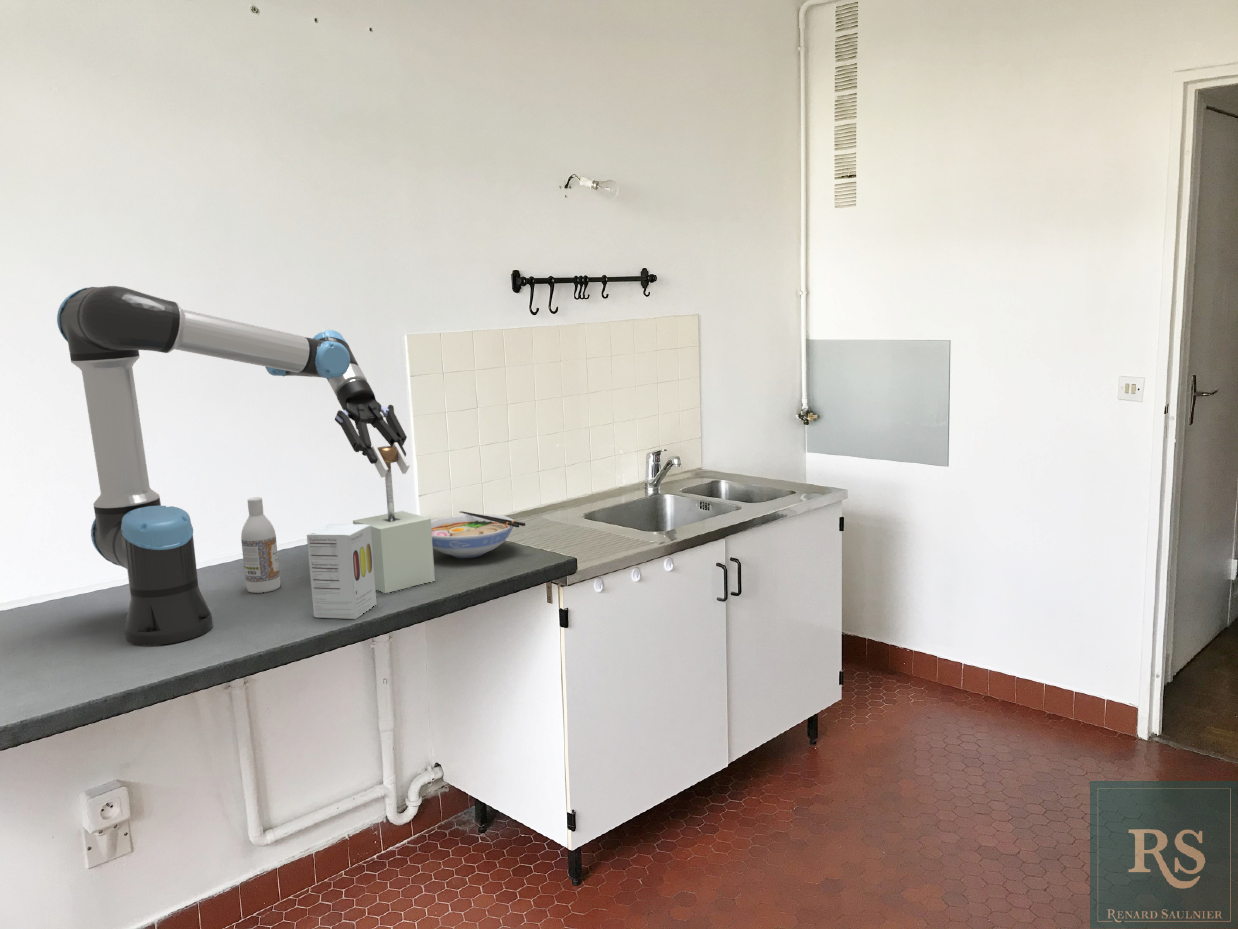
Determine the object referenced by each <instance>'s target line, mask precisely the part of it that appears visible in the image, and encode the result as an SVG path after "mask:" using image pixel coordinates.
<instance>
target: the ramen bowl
mask: <svg viewBox="0 0 1238 929" xmlns="http://www.w3.org/2000/svg"><path fill="white" fill-rule="evenodd" d="M459 513H460V514H457V515H453V516H445V517H444V516H443V517H440V518H436V519H431V532H432V546H433V550H436V551H438V552H440V553H442V554H444V555H449V556H451V557H452V556H453V557H454V558H457V559H472V558H473V559H474V558H478V557H481V556H483V555H484V554H486V553H489V552H490V551H493V550H494V549H497V548H498V547H499V546H501V545H502V544H503V543H504V542H505V541H506V540H507V538H508V537H509V535H510V534H511V532H512V530H513V528H520V526H521V527H525V526H526V522H521V521H516V520H514V519H513V518H511V517H508V516H507V515H506V516H505V515H497V514H490V513H489V514H485V513H473V512H467V511H464V510H463V511H462V510H461V511H459Z"/></svg>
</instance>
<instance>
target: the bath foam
mask: <svg viewBox="0 0 1238 929" xmlns="http://www.w3.org/2000/svg"><path fill="white" fill-rule="evenodd" d="M247 507H248V509H247V510H248V515H249V516H248V518H247V519H246V521H245V522H244V525H243V526H242V529H241V534H240V535H241V537H240V540H241V541H240V542H241V548H242V550H241V551H242V559H243V570H244V579H245V586H246V588H245V589H246V590H247V592H249V593H253V594H259V593H260V594H261V593H263V592H264V593H269V592H273V591H275V590H278V589H279V588H280V587H281V574H280V566H279V565H280V564H279V557H278V556H279V555H278V545H277V544H278V543H277V534H276V530H275V527H274V525H273V524H272V523H271V521H270V520H269V519H268V518H267V516H266V515H265V514H264V506H263V498H262V496H261V497H259V496H256V497H249V498H247ZM264 593H263V594H264Z"/></svg>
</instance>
